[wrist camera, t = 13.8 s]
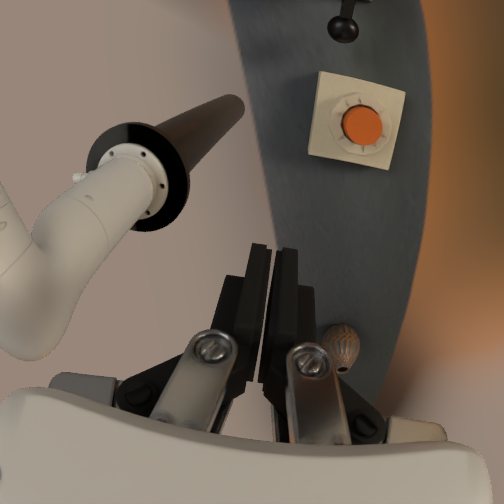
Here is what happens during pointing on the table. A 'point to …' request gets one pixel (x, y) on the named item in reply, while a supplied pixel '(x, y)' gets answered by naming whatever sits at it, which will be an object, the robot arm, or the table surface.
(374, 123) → the button
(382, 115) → the beige button base
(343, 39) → the switch
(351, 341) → the vase
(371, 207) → the table surface
